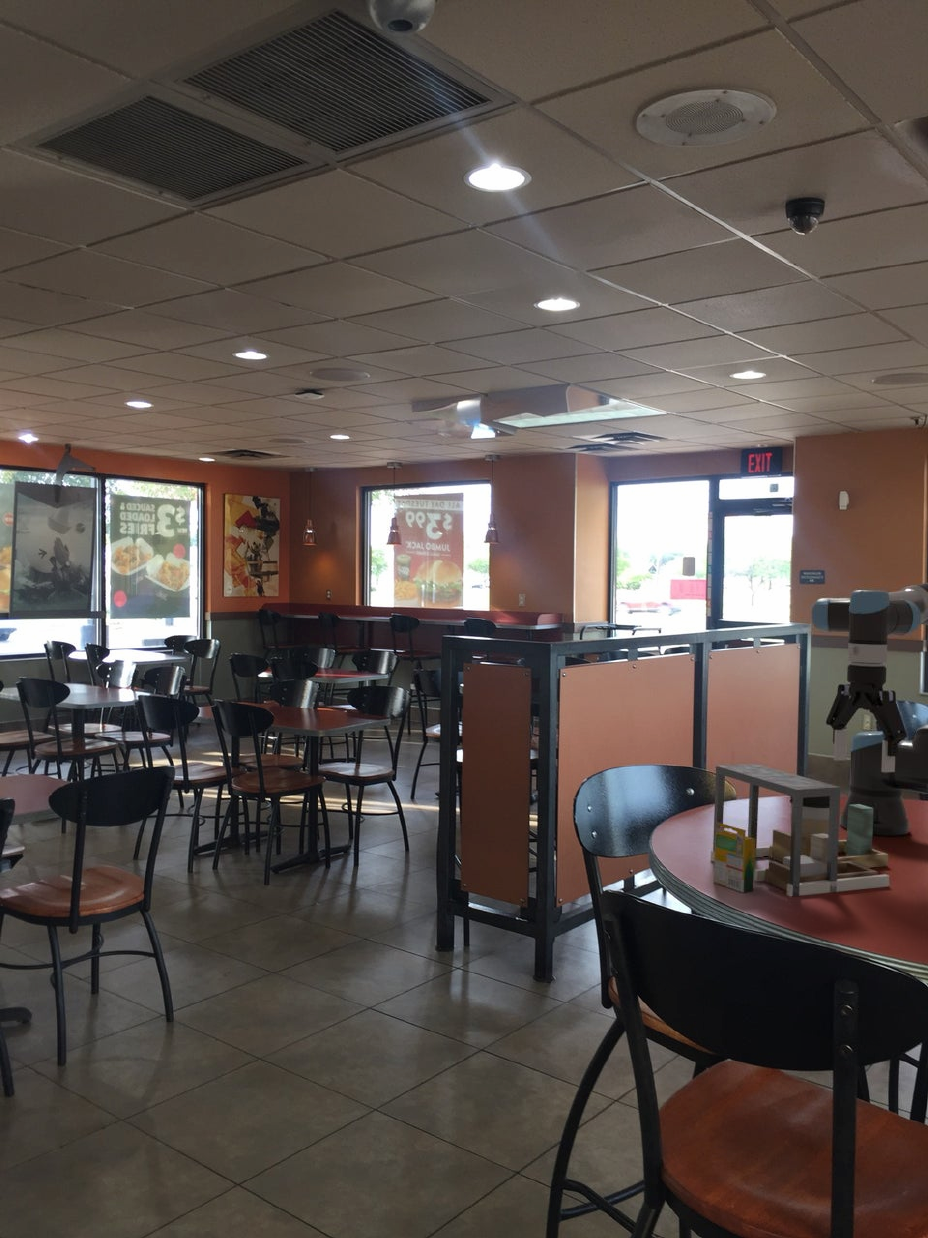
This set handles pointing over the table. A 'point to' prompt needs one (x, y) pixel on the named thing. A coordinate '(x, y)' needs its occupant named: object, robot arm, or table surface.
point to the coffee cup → (814, 816)
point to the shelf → (798, 790)
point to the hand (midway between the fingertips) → (863, 766)
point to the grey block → (807, 866)
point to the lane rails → (824, 885)
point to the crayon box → (734, 858)
